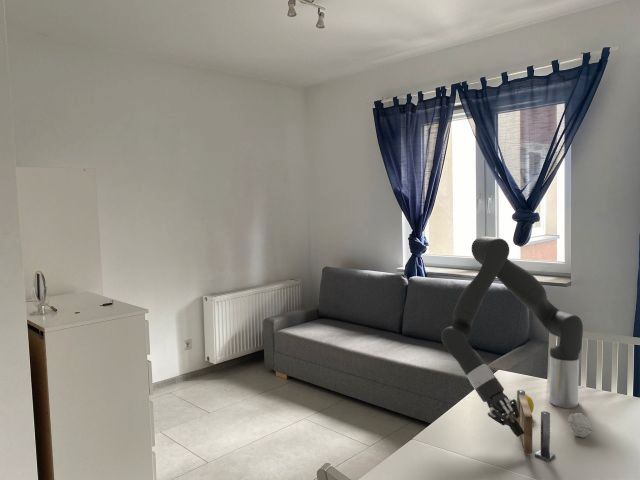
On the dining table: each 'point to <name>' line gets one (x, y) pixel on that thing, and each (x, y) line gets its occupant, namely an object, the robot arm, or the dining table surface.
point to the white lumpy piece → (580, 424)
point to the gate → (525, 423)
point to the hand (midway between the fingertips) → (521, 435)
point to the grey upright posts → (542, 433)
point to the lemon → (529, 403)
